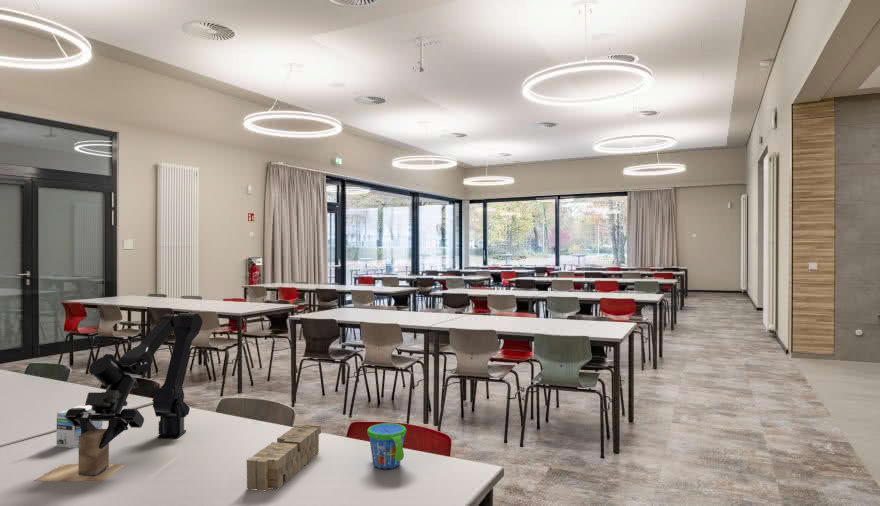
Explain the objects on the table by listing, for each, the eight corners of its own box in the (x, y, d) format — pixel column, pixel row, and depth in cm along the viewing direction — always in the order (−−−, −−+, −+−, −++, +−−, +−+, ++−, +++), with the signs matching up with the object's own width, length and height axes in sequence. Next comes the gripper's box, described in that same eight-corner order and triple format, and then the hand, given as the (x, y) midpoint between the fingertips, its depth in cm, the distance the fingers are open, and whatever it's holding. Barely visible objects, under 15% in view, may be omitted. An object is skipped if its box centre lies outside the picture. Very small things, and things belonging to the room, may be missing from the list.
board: (125, 467, 149) (125, 463, 149) (102, 484, 138) (102, 480, 138) (61, 467, 148) (61, 464, 148) (33, 484, 137) (33, 480, 137)
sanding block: (108, 466, 146) (108, 428, 146) (96, 474, 141) (96, 435, 141) (91, 466, 146) (91, 428, 146) (78, 474, 141) (78, 435, 141)
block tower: (275, 496, 135) (322, 451, 163) (275, 462, 134) (322, 423, 163) (245, 493, 136) (297, 448, 165) (245, 459, 136) (297, 421, 164)
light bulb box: (74, 450, 161) (74, 414, 161) (54, 449, 162) (55, 412, 162) (103, 439, 171) (103, 404, 171) (85, 437, 173) (85, 403, 173)
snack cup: (359, 458, 158) (360, 422, 158) (394, 452, 162) (394, 418, 162) (377, 478, 144) (378, 439, 144) (414, 472, 148) (415, 434, 148)
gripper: (69, 378, 147) (38, 433, 136) (138, 379, 147) (113, 433, 136) (88, 399, 155) (60, 452, 144) (153, 400, 155) (131, 453, 144)
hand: (90, 448), depth 142 cm, fingers closed on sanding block, 5 cm apart
